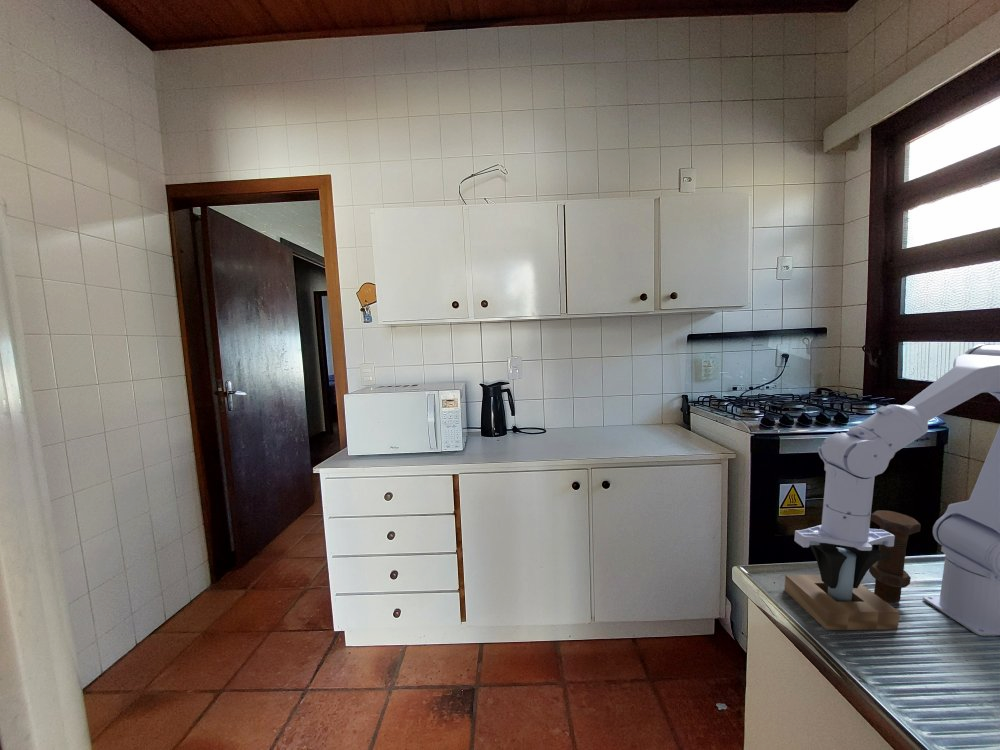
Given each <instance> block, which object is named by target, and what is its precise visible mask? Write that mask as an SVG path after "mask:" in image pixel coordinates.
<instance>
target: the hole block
mask: <svg viewBox="0 0 1000 750" xmlns="http://www.w3.org/2000/svg"><path fill="white" fill-rule="evenodd" d="M784 578H785V579H784V589H783V591H785V593H787V594H788V595H789V596H790V597H791V598H792V599H793V600H794V601H795V602H796V603H798V605H799V606H800V607H802V609H804V610H805V611H806V612H807V613H808V614H809V615H810V616H811V617H812V618H814V620H815V621H817V623H819V625H821V627H823V628H824V629H825V630H828V631H830V630H831V631H832V630H834V631H835V630H838V631H839V630H840V631H843V630H847V631H848V630H853V631H854V630H898V629H899V627H898V626H899V623H900V621H899V619H900V610H898V609H896V608H895V607H894V606H892V605H890V604H889V602H886V601H884V600H882V599H881V598H880V597H878V596H877V595H876V594H874V591H871V590H870V589H869V588H867V587H866V586H865V585H863V584H862V583H860V585H859V586H858V588H853V592H852V601H851V602H836V601H835V600H834V599H833V598H831V597H830V596H829V595H828V594H827V593H828V586H827V585H826V584H825V583H824V582H823V581H822V580H821V575H820V574H785V577H784Z"/></svg>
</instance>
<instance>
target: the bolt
mask: <svg viewBox="0 0 1000 750" xmlns="http://www.w3.org/2000/svg"><path fill="white" fill-rule="evenodd" d="M871 521H872V522H873V523H875V524H876V525H878V526H879V529H883V530H885V531H887V532H889V533H891V534H893V535H894V536H895V539H894V546H893V547H888V546H885V545H884V544H878V549H877V550H878V551H880V552H881V553H882V555H881V559H880V560H878V561H877V562H876V563H875V564H873V565H872V566H871V567H870V568H869V570H868V572H869V574H870V575H871V576H872V577H873V578H874V579H875V581H874V588H873V593H874V594H876V595H877V596H878V597H880V598H881V599H882V600H884V601H885V602H887V603H892V604H894V603H899V602H900V601H901V594H902V589H903V588H906V587H908V586H909V585H911V579H912V578H911V576H910V575H909V573H908V572H907V571H905V563H906V562H905V561H906V552H907V545H908V540H909V536H910V535H914V534H916V533H920V532H921V526H922V525H921V523H920V522H919V521H918V520H916V519H915V518H914V517H912V516H909V515H907V514H903V513H900V512H896V511H891V510H879V509H878V510H876V511H874V512H871V517H870V522H871Z"/></svg>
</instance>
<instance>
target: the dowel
mask: <svg viewBox="0 0 1000 750" xmlns="http://www.w3.org/2000/svg"><path fill="white" fill-rule="evenodd" d="M836 548H838V551H839V552H840V553H842V554H843V555H845V556H846V557H847V559H846V560H845V561H844V563H843V564H842V567H841V569H840V572H839V578H838V584H837V586H836V588H830V587H829V586H828V593H827V594H828V595H829V596H830V597H831V598H833V599H834V600H835V601H836V602H851V601H852V592H853V583H854V573H855V564H856V555H855V554H854V553H853V552H851V551H849V550H847V549H844V548H841V547H838V546H836Z"/></svg>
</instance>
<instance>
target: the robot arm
mask: <svg viewBox="0 0 1000 750" xmlns="http://www.w3.org/2000/svg"><path fill="white" fill-rule="evenodd" d="M982 393H989V394H991V395H992V396H993V397H995V398H996V399H997V400H998V401H999V402H1000V344H999V345H996V344H991V343H981V344H977V345H975V346H972V347H970V348H968V350H967V351H966V352H964V353H963V354H961V355H959V356H957V357H955V358H954V360H953V363H952V368H951V369H949V370H948V371H946V372H945V373H944V374H943V375H941V377H939V378H937V379H936V380H935V381H934V382H933V383H931V384H930V385H928V386H927V387H926V388H925V389H923V390H921V392H919V393H917V394H916V395H915V396H913V398H911V399H910V400H909V401H907V402H906V403H905V404H902V405H901V404H888V405H886V406H885V405H884V406H883V405H881V406H880V407H878V408H876V409H875V410H874V411H875V413H874V414H872V415H870V416H869V417H867V418H866V419H864V420H863V421H861V422H860V423H858V424H857V425H854V426H853V425H852V427H850V428H849V429H848V430H847V431H846V432H840V433H839V432H836V433H833V434H831V435H830V436H827V438H825V439H824V440H823V442H822V444H821V446H818V447H817V451H818V455H819V458H820V459H821V460H822V461H823V463H824V467H823V469H824V470H823V471H825V479H824V480H825V482H824V492H823V493H824V494H823V503H822V514H821V524H819V525H816V526H813V527H808V528H805V529H798V530H797V529H796V530H794V538H793V539H794V542H795V543H796V544H798V545H799V546H801V547H802V548H810V549H811V551H812V554H813V555H814V557H815V558H814V559H815V560H816V564H817V566H818V571H819V575H821V580H822V581H823V582H824V583H825V584H826V585H827V586H829V587H830V588H836V586H837V584H838V578H839V572H840V569H841V567H842V564H843V563H844V561H845V560H846V559H847V557H846V556H845V555H843V554H842V553H840V552H839V551H838V548H836V547H837V546H840V548H844V549H847V550H849V551H851V552H853V553H854V554H855V555H856V564H855V573H854V583H853V588H858V586H859V585H860V584H862V581H863V579H864V577H865V575H866V574H867V572H869V568H870V567H871V566H872V565H873V564H875V563H876V562H877V561H878V560H880V559H881V555H882V553H881V552H880V551H878V550H879V549H877V548H875V547H874V545H879V544H884V545H885V546H888V547H893V546H894V539H895V536H894V535H893V534H891V533H889V532H887V531H885V530H883V529H880V528H879V529H878V528H870V527H871V515H872V507H873V506H872V505H873V497H874V487H875V486H874V485H875V477H877V476H878V475H881V474H884V472H885V471H886V470H887V468H888V467H889V463H890V461H891V460H892V459H893V458H894V457H895V455H896V453H897V452H898V451H900V450H901V449H903V448H905V447H907V446H908V445H910V444H911V443H913V442H914V441H916V440H918V439H919V438H921V437H922V436H924V435H925V434H927V433H928V431H929V421H930V420H933V419H935V418H936V417H938V416H940V415H943V414H944V413H947V412H948V411H950V410H951V409H954V408H956V407H957V406H959V405H962V404H963V403H964V402H966V401H967V402H968V401H969V400H970V399H972V398H974V397H975V396H977V395H980V394H982ZM986 455H987V456H986V458H985V460H984V463H983V466H982V467H981V471H980V473H979V475H978V477H977V481H976V483H975V485H974V487H973V489H972V492H971V494H970V497H969V499H968V500H964V501H959V502H955V503H950V504H948V505H947V509H946V510H945V512H944V514H943V515H942V516H941V517H939V518H938V519H937V520H936V521H935V523H934V524H933V526H932V536H933V538H934V540H935V541H936V542H937V543H938V544H939V545H941V548H940V552H942V553H943V554H944V563H943V572H942V579H941V586H940V587H941V588H940V595H927V596H926V595H924V596H922V600H923V601H925V602H926V603H928V604H930V605H931V606H933V607H934V608H935V609H937V610H939V611H940V612H942V613H943V614H945V615H946V616H948V617H949V618H950V619H952V620H954V621H956V622H957V623H959V624H960V625H962V626H963V627H964V628H966V629H968V630H969V631H971V632H972V633H973V634H976V635H978V636H1000V425H999V426H998V429H997V431H996V434H995V436H994V439H993V441H992V443H991V446H990V447H989V450H988V452H987V454H986Z"/></svg>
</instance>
